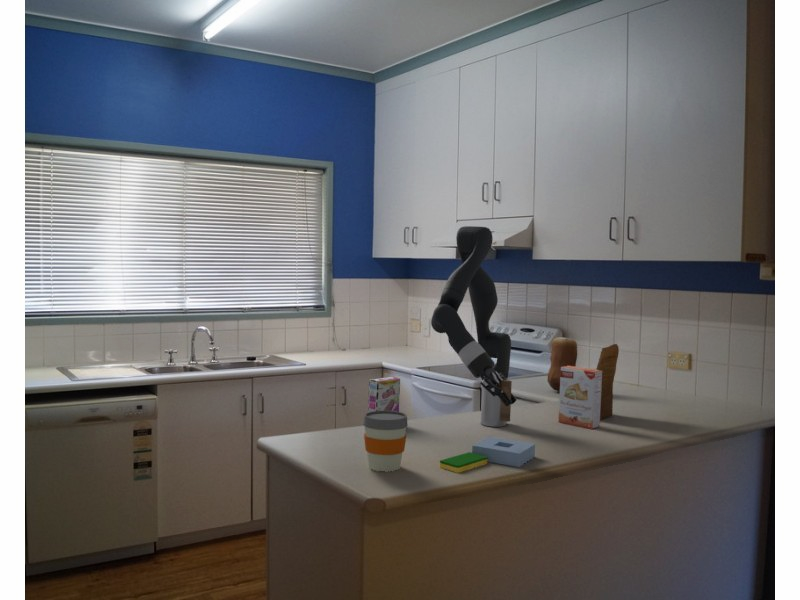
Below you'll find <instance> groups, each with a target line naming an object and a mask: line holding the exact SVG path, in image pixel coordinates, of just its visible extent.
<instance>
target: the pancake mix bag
mask: <svg viewBox="0 0 800 600" xmlns="http://www.w3.org/2000/svg"><path fill="white" fill-rule="evenodd" d="M619 349H620V348H619V345H618V344H617V343H614V344H611V345H609V346H606V347H603V348H601V351H600V355H599V357H598V363H597V365H596V369H595V370H601V371H602V388H601V409H600V421H602V420H605V419H607V418H610V417H613V403H614V401H613V400H614V393H613V392H614V381H615V377H616V376H615V375H616V371H617V363H618V360H619V359H618V358H619V351H620V350H619Z"/></svg>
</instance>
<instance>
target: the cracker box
mask: <svg viewBox="0 0 800 600" xmlns="http://www.w3.org/2000/svg"><path fill="white" fill-rule="evenodd" d="M601 388H602V371H601V370H596V369H595V368H594V369H592V368H587V367H581V366H576V367H575V366H564V367H561V376H560V392H559V404H558V420H557V421H558V423H562V424H567V425H571V426H575V427H581V428H585V429H589V430H590V429H591V430H593V429H597V428H599V427H600V426H601V420H600V409H601Z"/></svg>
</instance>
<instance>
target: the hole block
mask: <svg viewBox="0 0 800 600" xmlns="http://www.w3.org/2000/svg"><path fill="white" fill-rule="evenodd" d="M471 453H474V454H478V455H482V456H486V457H488V458H487V463H494V464H499V465H506V466H511V467H517V468H520V467H522V466H523V465H525V464H526V463H528V462H529V461H531V460H532V459H534V458H535V455H536V443H532V442H525V441H518V440H513V439H508V438H500V437H494V436H488V437H486V438H484V439H482V440H480V441H478V442H476V443H474V444H473V445H472V447H471ZM533 457H534V458H533ZM530 459H531V460H530ZM527 461H528V462H527ZM524 463H525V464H524Z"/></svg>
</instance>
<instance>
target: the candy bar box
mask: <svg viewBox="0 0 800 600" xmlns="http://www.w3.org/2000/svg"><path fill="white" fill-rule="evenodd" d="M400 388H401V378H398V377H394V376H388V377H382V378H381V377H380V378H371V379H368V401H367V402H368V404H367V405H368V406H367V412H372V411H397V412H400V391H401V389H400Z"/></svg>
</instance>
